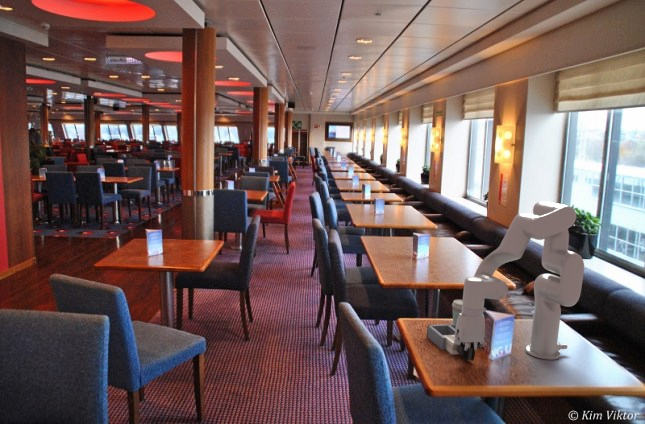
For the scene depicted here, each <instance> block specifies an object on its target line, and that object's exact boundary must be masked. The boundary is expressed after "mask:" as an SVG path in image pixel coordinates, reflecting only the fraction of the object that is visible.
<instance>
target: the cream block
mask: <svg viewBox="0 0 645 424" xmlns="http://www.w3.org/2000/svg"><path fill="white" fill-rule="evenodd" d="M443 336H444V337H445V338H446V343H445V351H447V352H448V353H449V354H450V355H460V356H462V347H461V346H460V345H457V344H455V343H454V340H455V335H443ZM468 351H469V356H468V361H473V360H472V351H473V348H471V347H470V345H469V344H468Z"/></svg>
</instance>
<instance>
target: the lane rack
mask: <svg viewBox="0 0 645 424" xmlns="http://www.w3.org/2000/svg"><path fill="white" fill-rule="evenodd" d="M455 329H456V324H453V323H449V324H448V323H447V324H445V323H444V324H428V325H427V328H426V338H428V339H429V340H430V341H431V342H432V343H433V344H434V345H435V346H437V348H439V349H440V350H441V351H446V349H445V343H446V338H445V337H444V336H443V335H455ZM478 347H479V348H480V349H483V348H482V347H483V343H482V344H480V345H479V346H478Z"/></svg>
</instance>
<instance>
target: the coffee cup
mask: <svg viewBox="0 0 645 424" xmlns="http://www.w3.org/2000/svg"><path fill="white" fill-rule="evenodd" d="M462 303H463V299H454V300H453V302H452V303H451V306H452V324H456V323H457V319H458V316H459V313H462Z"/></svg>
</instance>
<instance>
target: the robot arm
mask: <svg viewBox="0 0 645 424" xmlns="http://www.w3.org/2000/svg"><path fill="white" fill-rule="evenodd" d="M532 213H533V214H532ZM532 213H528V212H521V213H518V214H516V215H515V216H514V217H513V219H512V222H511V223H510V225H509V227H508V229H507V231H506V232H505V235H504V237H503V239H502V240H501V242H500V244H499V246H498V247H497V248H496V249H494V250H493V251H492V252H491V253H489V254H488V255H487V256H485V257H484V259H482V261H481V262H480V263H479V265H478V267H477V269H476V271H475V273H474V275H473V276H467V277H466V278H465V279H464V284H463V291H462V292H463V294H462V300H463V303H462V313H459V316H458V319H457V323H456V329H455V340H454V343H455V344H457V345H460V346H461V347H462V355H461V357H462V359H463V360H464V361H465V362H466V361H467V362H468V361H469V360H468V356H469V351H468V345H469V343H470V345H469V346H470V347H471V348H473V351H472V360H471V361H474V360H475V357H476V350H478V347H479V345H480V344H482V343H484V344H485V342H486V340H485V339H484V337H485V335H486V320H485V319H486V318H485V315H484V312H486V311H487V308H486V307H484V306H485V299H490V300H501V299H503V298H505V297H506V296H507V295H508V294H509V286H508V283H506V282H505V281H504V280H503V279H500V278H498V277H496V276H494V273H495V272H496V271H497V269H498V268H500V267H501V266H502V265H505V264H506V263H509V262H514V261H517V260H519V259H521V258H522V257H523V255H524V253H525V250H526V249H527V246H528V245H529V243H530V240H531V239H534V240H537V241H539V240H540V241H542V240H543V246H542V247H543V248H542V255H541V265H542V267H543V268H544V269H545V270H546V271H549V272H551V273H555V274H557V275H560V276H557V275H555V274H551V273H541V274H539V275H538V276H537V277H536V278H535V280H534V282H533V291H534V292H533V293H534V309H533V316H532V317H533V318H532V327H531V336H530V343H529V344H528V345H527V346H525V353H527V354H528V355H530V356H531V357H535V358H537V359H541V360H549V361H551V360H552V361H553V360H559V359H560V358H561V352H560V350H568V344H566V343H560V342H558V339H559V332H560V322H561V315H562V314H561V312H562V310H561V306H563V307H573V306H575V305H576V304H577V302H579V299H580V297H581V293H582V287H583V286H582V285H583V281H584V273H585V263H584V259H583V258H582V256H581V254H578V252H575V251H571V250H570V249H569V240H570V233H569V228H572V226H573V225H574V224H575V222H576V220H577V213H576V210H575V209H574V208H573V207H572V206H570V205H567V204H563V203H562V204H561V203H557V202H553V201H545V200H544V201H543V200H541V201H537V202H536V203H535V204H534V205H533V207H532Z"/></svg>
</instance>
